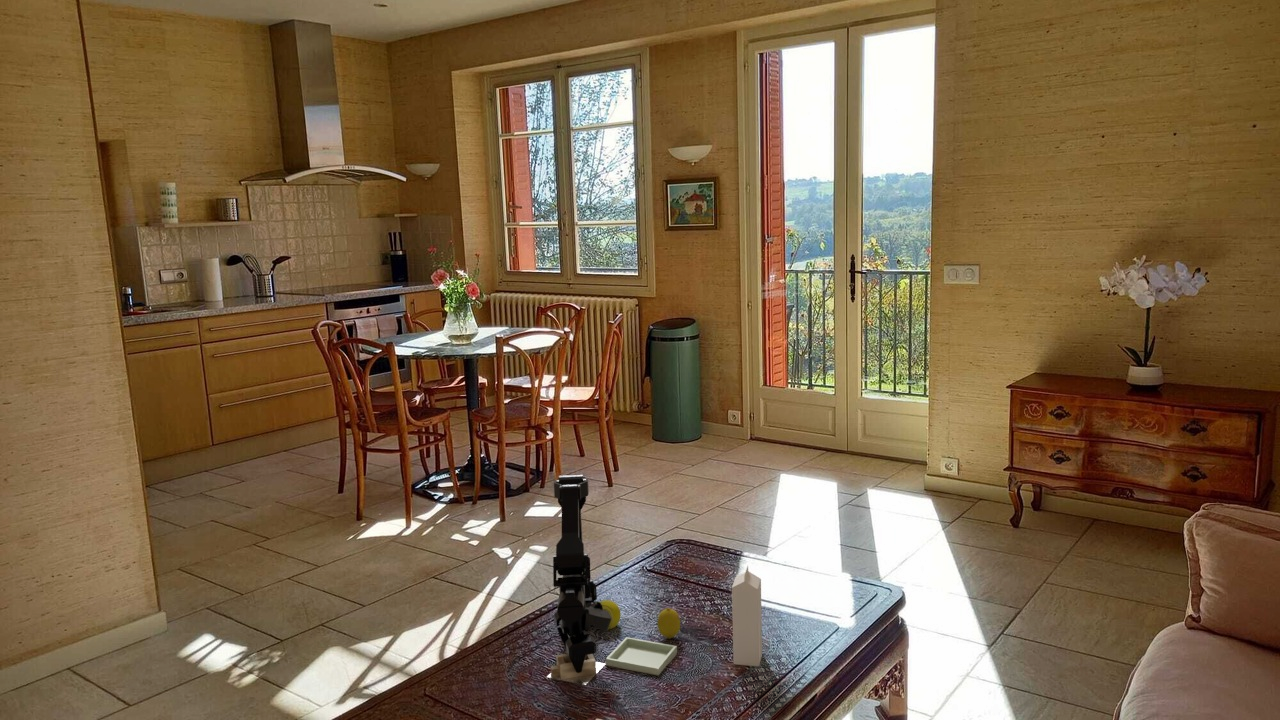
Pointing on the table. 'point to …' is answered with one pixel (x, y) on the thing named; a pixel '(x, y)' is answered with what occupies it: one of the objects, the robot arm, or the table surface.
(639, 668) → the tray
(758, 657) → the milk
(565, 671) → the wooden rectangular frame
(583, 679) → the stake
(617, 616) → the tennis ball
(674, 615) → the lemon
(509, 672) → the table surface
